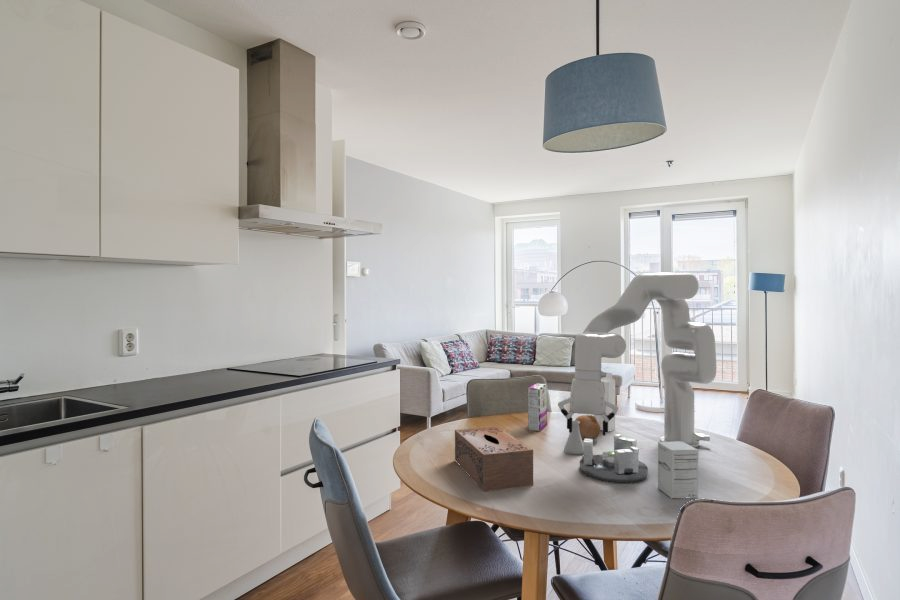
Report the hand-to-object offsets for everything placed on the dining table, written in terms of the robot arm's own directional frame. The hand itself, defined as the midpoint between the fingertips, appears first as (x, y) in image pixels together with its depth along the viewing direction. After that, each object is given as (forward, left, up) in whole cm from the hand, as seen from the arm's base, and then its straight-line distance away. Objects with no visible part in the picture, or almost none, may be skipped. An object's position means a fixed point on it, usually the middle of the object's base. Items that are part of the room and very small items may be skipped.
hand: (587, 433), depth 151 cm
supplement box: (-23, +12, -11) cm, 28 cm away
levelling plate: (-7, 0, -11) cm, 13 cm away
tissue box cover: (+27, +11, -11) cm, 31 cm away
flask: (+5, -16, -11) cm, 20 cm away
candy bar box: (+21, -43, -11) cm, 49 cm away
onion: (+2, -31, -11) cm, 33 cm away
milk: (-4, -48, -11) cm, 50 cm away
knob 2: (-11, +6, -9) cm, 15 cm away
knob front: (0, 0, -9) cm, 9 cm away
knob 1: (-11, -6, -9) cm, 15 cm away
